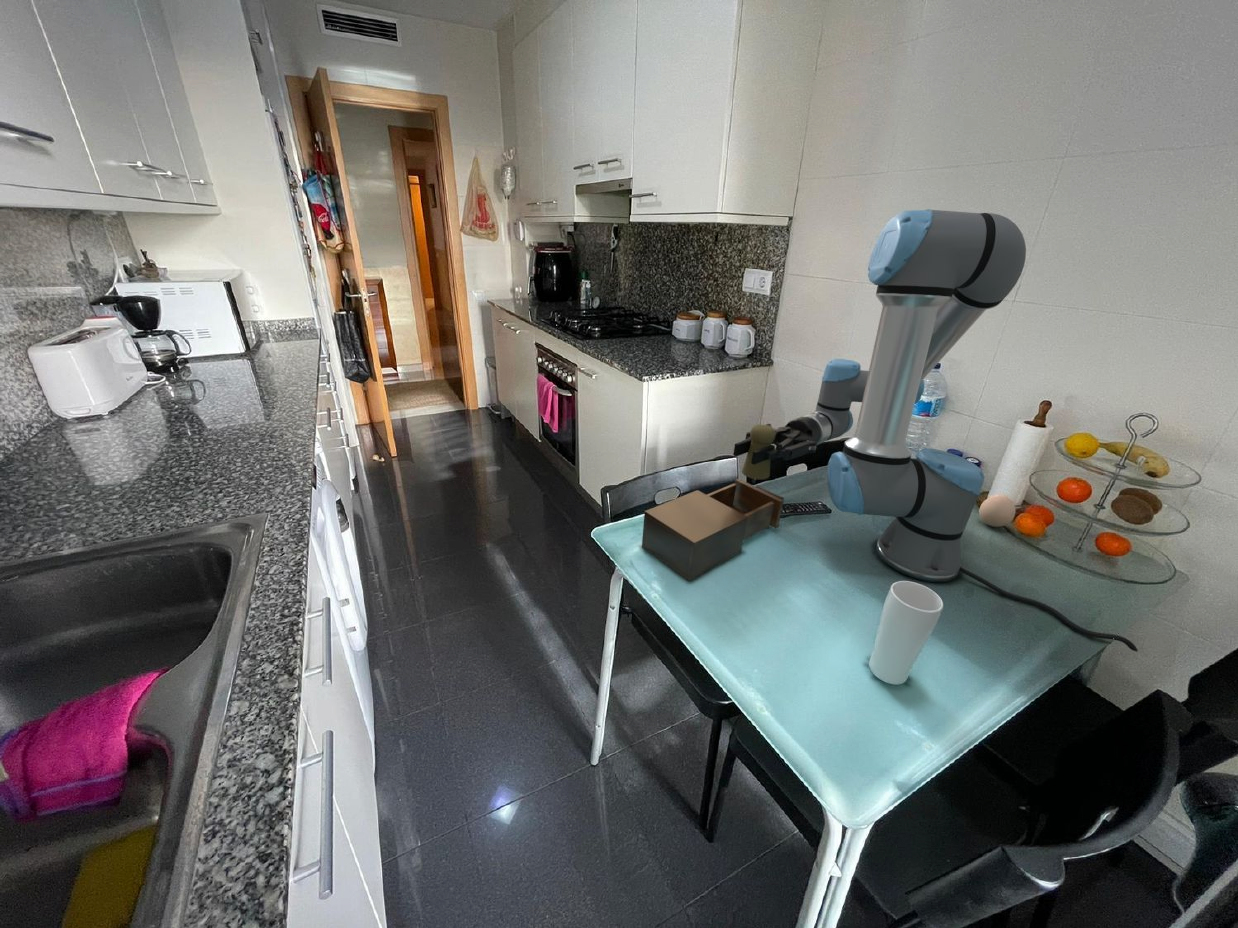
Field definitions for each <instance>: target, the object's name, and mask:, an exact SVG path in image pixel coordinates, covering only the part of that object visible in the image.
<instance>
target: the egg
mask: <svg viewBox="0 0 1238 928" xmlns="http://www.w3.org/2000/svg"><path fill="white" fill-rule="evenodd" d="M978 514H979V517H980V520H981V521H983V523H984V524H986V525H987V526H989V527H994V528H1001V527H1005V526H1007V525H1009V524H1010V523H1011V522H1012V521H1013V520H1014V518H1015V516H1016V505H1015V504H1014V501H1013V500H1012V499H1011V497H1009V496H1007V495H1004V494H994V495H991V496H989V497H988V498H986V499H985V500H983V502H982V503H981V505H980V507H979V510H978Z"/></svg>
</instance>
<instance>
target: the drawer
mask: <svg viewBox="0 0 1238 928" xmlns="http://www.w3.org/2000/svg"><path fill="white" fill-rule="evenodd" d="M706 495H708V496H710V497H711V498H713V499H715V500H717V501H719V502H721V503H723V504H724V505H726V506H728V507H730V508H732V509H734V510H736V511H737V512H739V513H741V514H743V515H745V516H747V517H748V519H747V524H746V530H745V535H744V540H743V542H745V541H747V540H749V539H750V538H752V537H754V536H756V535H758V534H760V533H762V532H764V531H765V530H767V529H769V528H770V527H772V528H773V529H776V528H778V527H779V524H780V519H781V515H782V510H783V505H784V501H785V500H784V499H785V498H784V497H783V496H781V495H779V494H777V493H775V492H772V491H771V490H770V489H766V488H765V487H763V486H760V485H758V484H757V485H756V486H755V485H753V484H750V483H749V482H747V481H745V480H742V479H740V478H736V479H735V480H734V483H732V484H729V485H727V486H724V487H722V488H719V489H716V490H715V491H712V492H710V493H707V494H706Z"/></svg>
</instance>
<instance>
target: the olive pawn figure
mask: <svg viewBox="0 0 1238 928" xmlns="http://www.w3.org/2000/svg"><path fill="white" fill-rule="evenodd" d="M773 428H774V427H773V426H772V427H770V426H767V425H766V424H755V425H754V426H752V428H751V430H750V431H751V432H750V431H749V432H750V437H751V439H752V441H751V444H750V447H749V450H748V452H747V453H746V457H745V460H744V463H743V467H742V469H741V473H742V475H744V476H745V477H746V478H750V479H753V480H766V479H768V478H770V475H771V460H768V459H767V460H765V461H762V462H760V463H757V464H755V465H754V464H751V461H752V455H753V451H756V450H759V449H762V448H764V447H767V446H770V445H772V444H771V443H772V442H773V441H774V439H775V435H776V432H775V430H774V429H773Z"/></svg>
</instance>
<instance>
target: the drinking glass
mask: <svg viewBox="0 0 1238 928" xmlns="http://www.w3.org/2000/svg"><path fill="white" fill-rule="evenodd" d="M943 609H944V602H943V600H942V598H941V597H940V595H939V594H938V593H937V592H935V591H934V590H933V589H931V588H930V587H927V586H926V585H924V584H921V583H918V582H914V581H910V580H899V581H895V582H894V583H891V586H890V588H889V590H888V592H887V595H886V598H885V600H884V602H883V607H882V609H881V612H880V613H881V614H880V618H879V622H878V625H877V630H876V635H875V639H874V640H875V641H874V644H873V647H872V652H871V655H870V657H869V661H868V665H869V669H870V671H871V672H872V674H873V675H874V676H875V677H876V678H877V679H879V681H880V680H881V681H882V682H884V683H886V684H889V685H895V686H896V685H897V686H899V685H902V684H904V683H906V681H907V680H908V677H909V675H910V673H911V671H912V669H913V668H914V665H915V664H916V662H917V661H918V659H919V657H920V655H921V654H922V652H923V650H924V648H925V647H926V645H927V644H928V643H929V640H930V638H931V637H932V635H933V633H934V631H935V629H936V627H937V625H938V623H939V620H940V617H941V614H942V611H943Z"/></svg>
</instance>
